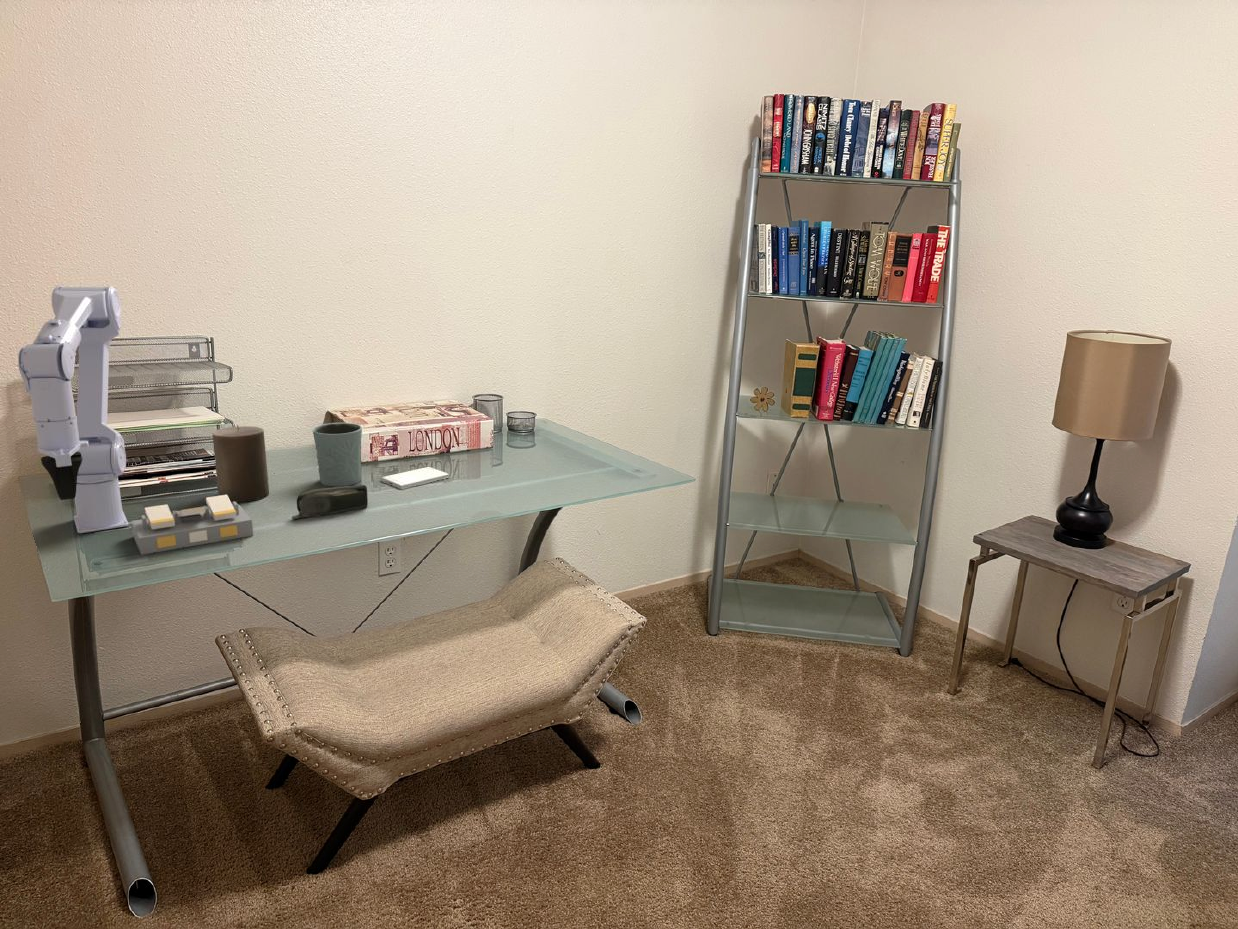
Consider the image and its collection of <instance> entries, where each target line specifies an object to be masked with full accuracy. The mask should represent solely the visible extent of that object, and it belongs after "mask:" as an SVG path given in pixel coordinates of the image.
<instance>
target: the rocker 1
mask: <svg viewBox="0 0 1238 929" xmlns="http://www.w3.org/2000/svg"><path fill="white" fill-rule="evenodd" d="M170 509H171V508H169V505H168V504H163V505H162V504H160V505H153V506H148V507H144V513H145V517H146V519H147V518H148V521H149V524H150V526H151V529H158V528H165V527H171V526H175V521H174V518H173V516H172V515H173V513H172V512H171V510H170Z"/></svg>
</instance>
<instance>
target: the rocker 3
mask: <svg viewBox="0 0 1238 929" xmlns="http://www.w3.org/2000/svg"><path fill="white" fill-rule="evenodd" d="M205 502H206V504H207V505H206V506H207V507H208V508H209V509H210V511H211V513H212V516H213V518H214V520H215V521H216V520H222V519H229V518H235V517H236V511H235V509H234V507H233V502H231V501H230V499H229V497H228V495H221V496H219V495H216V496H208V497H205Z"/></svg>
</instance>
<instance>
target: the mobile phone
mask: <svg viewBox="0 0 1238 929" xmlns="http://www.w3.org/2000/svg"><path fill="white" fill-rule="evenodd" d="M368 501H369V499H368V487H367V485H365V484H359V485H358V484H355V485H348V486H335V487H328V488H327V487H326V488H317V489H311V490H308V491H305V492H303V493H302V492H301V493H300V494H298V495H297V497H296V509H297V511H298V514H296V515H293V516H291V519H292V520H299V519H304V518H310V517H318V516H324V515H332V514H339V513H345V512H352V511H353V512H354V511H359V510H363V509H366V508H367V507H368V506H369V505H368V504H369V502H368Z"/></svg>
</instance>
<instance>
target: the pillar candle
mask: <svg viewBox="0 0 1238 929" xmlns="http://www.w3.org/2000/svg"><path fill="white" fill-rule="evenodd" d="M211 434H212V443H213V452H214V461H215V462H214V463H215V474H216V475H215V476H216V486H217V492H218V496H221V495H228V497H229V499H230V501H231V503H233V502H235V501H236V503H246V502H251V501H256V500H257V501H258V500H262V499H264V498H266V497H268V496H269V494H270V485H269V476H268V475H269V474H268V465H267V464H268V463H267V453H266V452H267V451H266V443H265V442H266V441H265V440H266V439H265V431H264V428H262V427H259V426H254V425H253V426H251V425H248V426H247V425H243V426H242V425H239V424H237V425H236V426H231V427H230V426H229V427H224V428H220V429H215V430H213V431H212V433H211Z"/></svg>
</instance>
